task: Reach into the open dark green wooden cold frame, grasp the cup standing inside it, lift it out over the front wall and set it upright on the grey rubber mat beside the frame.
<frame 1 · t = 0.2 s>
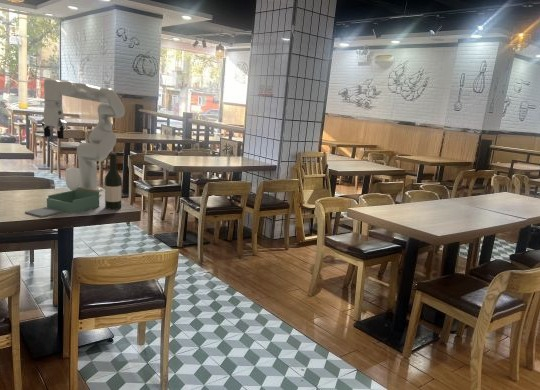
hand: (53, 137, 228), 36 cm above the table, tool pointing down, fingers open, 9 cm apart
cold frame: (73, 207, 233), on the table
wine bottle: (113, 208, 238), on the table
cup: (73, 207, 233), resting in cold frame
rubber mat: (44, 212, 219), on the table
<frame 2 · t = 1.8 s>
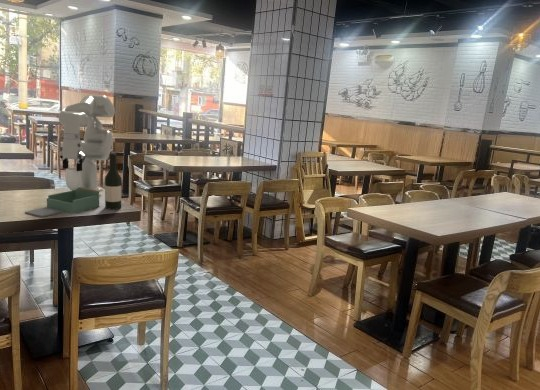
hand: (72, 169, 228), 20 cm above the table, tool pointing down, fingers open, 9 cm apart
nothing on the table moved.
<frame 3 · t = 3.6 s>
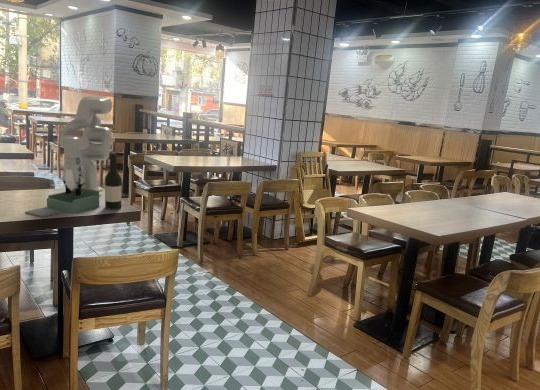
hand: (73, 194, 231), 7 cm above the table, tool pointing down, fingers closed on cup, 6 cm apart
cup: (73, 207, 233), resting in cold frame, touching gripper
everything else where it was.
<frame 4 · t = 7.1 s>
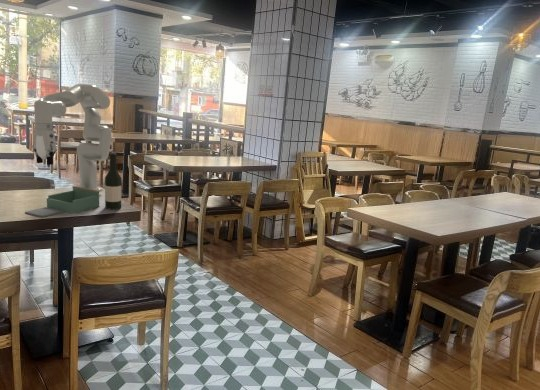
hand: (44, 163, 215), 25 cm above the table, tool pointing down, fingers closed on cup, 6 cm apart
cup: (45, 178, 216), point 18 cm above the table, touching gripper
everything else where it was.
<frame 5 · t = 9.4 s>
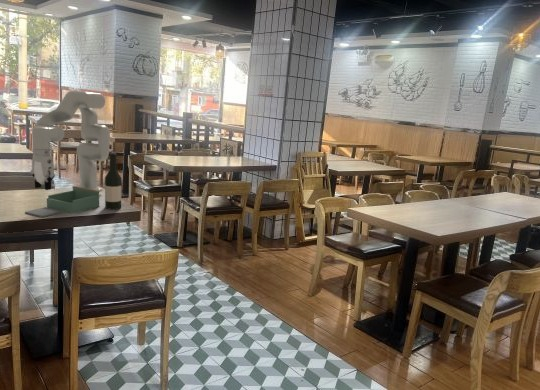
hand: (43, 188, 216), 13 cm above the table, tool pointing down, fingers closed on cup, 6 cm apart
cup: (43, 202, 218), point 5 cm above the table, touching gripper
everything else where it was.
when the fingers open (9 cm above the table, at t = 10.6 s): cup drops 1 cm, resting on rubber mat.
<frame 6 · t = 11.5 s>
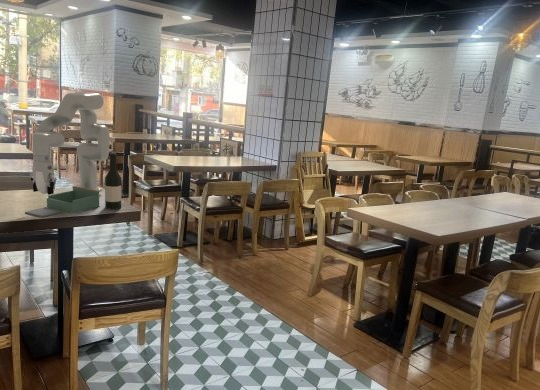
hand: (43, 192, 217), 10 cm above the table, tool pointing down, fingers open, 9 cm apart
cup: (45, 211, 219), point 1 cm above the table, touching rubber mat
everything else where it was.
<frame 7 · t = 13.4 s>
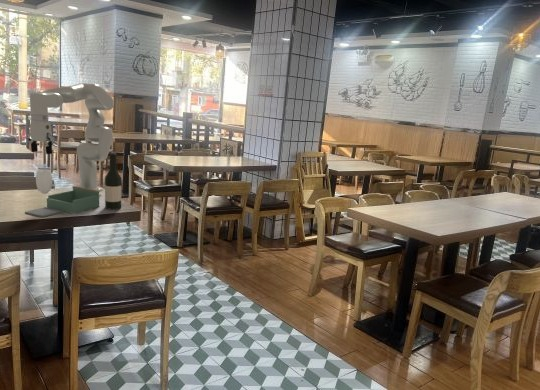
hand: (41, 152, 219), 29 cm above the table, tool pointing down, fingers open, 9 cm apart
nothing on the table moved.
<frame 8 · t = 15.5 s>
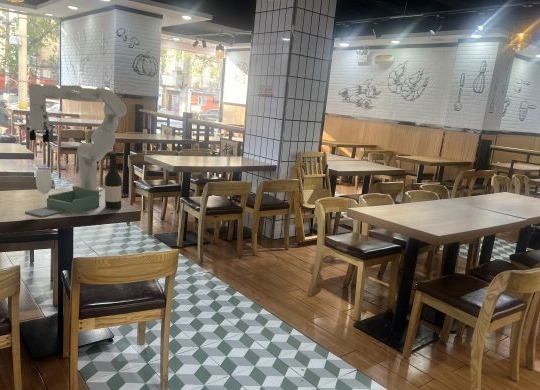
hand: (39, 141, 231), 33 cm above the table, tool pointing down, fingers open, 9 cm apart
nothing on the table moved.
at the end: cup inside the target area on the rubber mat (0.5 cm from its centre), point 0.6 cm above the rubber mat's base; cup tilted 0°; the gripper is holding nothing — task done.
